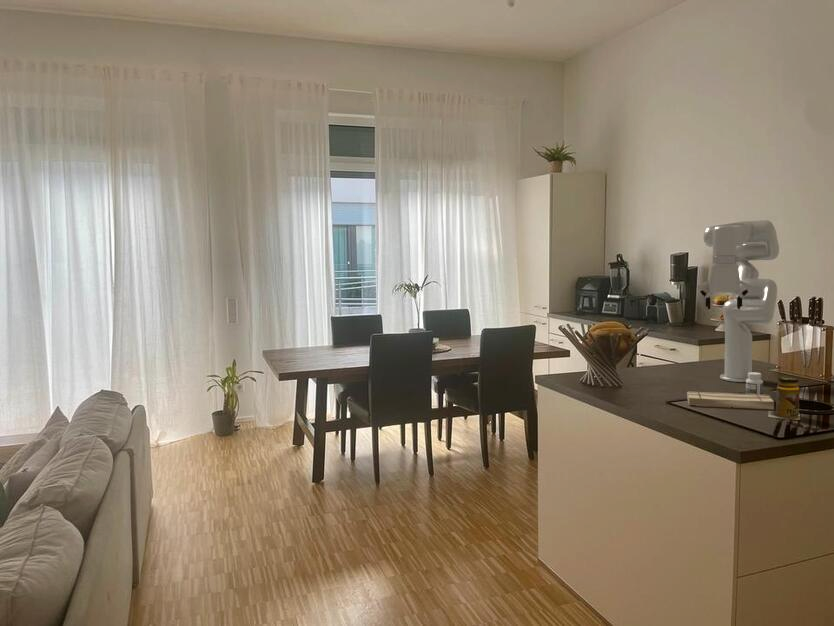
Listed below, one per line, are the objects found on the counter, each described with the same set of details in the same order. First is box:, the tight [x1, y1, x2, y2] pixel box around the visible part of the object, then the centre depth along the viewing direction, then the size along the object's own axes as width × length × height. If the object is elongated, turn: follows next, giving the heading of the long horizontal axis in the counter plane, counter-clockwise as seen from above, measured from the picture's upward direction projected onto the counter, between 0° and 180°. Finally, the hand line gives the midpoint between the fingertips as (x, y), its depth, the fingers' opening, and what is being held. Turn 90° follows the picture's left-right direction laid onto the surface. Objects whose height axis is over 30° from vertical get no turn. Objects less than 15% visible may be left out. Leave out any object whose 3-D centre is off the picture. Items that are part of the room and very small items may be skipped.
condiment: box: [767, 376, 801, 421], centre depth 194 cm, size 7×8×12 cm
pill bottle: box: [745, 371, 764, 395], centre depth 216 cm, size 5×5×9 cm
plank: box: [686, 391, 775, 411], centre depth 211 cm, size 10×25×3 cm, turn 70°
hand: (723, 308), depth 225 cm, fingers open, 9 cm apart
